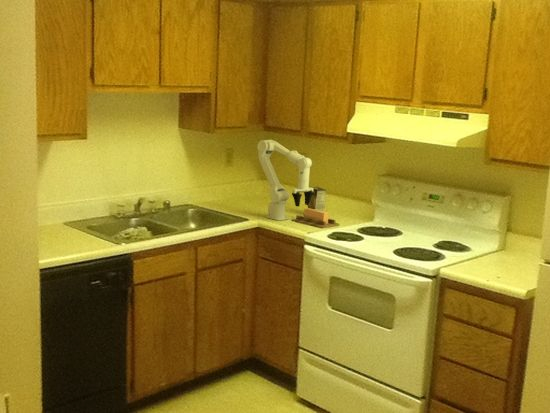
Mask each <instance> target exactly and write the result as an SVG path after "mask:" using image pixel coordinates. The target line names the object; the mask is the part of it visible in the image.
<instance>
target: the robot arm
mask: <svg viewBox="0 0 550 413" xmlns="http://www.w3.org/2000/svg"><path fill="white" fill-rule="evenodd" d="M256 149H257V156H258V160H259V163H260V166H261V168H262V171H263V173H264V175H265V177H266V180H267V182H268V184H269V187H270V190H269V194H270V200H271V202H269V204H268V205H267V206H268V207H267V216H266V218H267V219H271V220H275V221H285V220H289V218H288V217H286V208H287V201H288V200H289V197H290V194H289V192H288V191H287V190H286V188H285V186H283V185H282V184H281V183H280V180H279V179H278V178H279V177H278V175H277V174H276V171H275V169H274V166H273V164H272V161H271V159H270V157H271V155H272V154H273V152H274V151H276V152H278V153H279V154H282V155H284V156H285V157H287V161H289V162H291V163H293V164H294V165H296V166H297V168H298V180H297V187H296V188H294V189H293V188H292V190H291V196H292V198H293V200H294V204H295V207H297V208H298V207H300V205H301V198H302V196H304V205H305V206H308V205H309V202H310V200H311V197H312V196H313V194H314V192H312V191H313V188H311V187H312V186H310V171H311V169H310V168H312V165H313V160H312V159H311V158H310V157H305V155H304V154H303V155H302V154H300V153H298V151H297V150H289V149H288V148H287V147H284V146H283V145H282V144H280V143H279V142H278V141H276V140H274V139H266V140H265V139H261V140H259V141H258V143H257V146H256ZM309 187H310V188H309ZM302 193H303V194H304V195H303V194H302Z"/></svg>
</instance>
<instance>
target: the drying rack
mask: <svg viewBox="0 0 550 413" xmlns="http://www.w3.org/2000/svg"><path fill="white" fill-rule="evenodd" d="M293 221H295V223H299V224H301V225H307V226H311V227H314V228H319V229H328V228H333V227H339V226H341V225H340V223H337V222H336V219H332V218H328V223H327V224H326V222H325V221H320V220H316V219H312V218H307V217H304V215H299V214H298V215H296V216H295V218H292V219H291V222H293Z"/></svg>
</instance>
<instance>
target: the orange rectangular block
mask: <svg viewBox="0 0 550 413" xmlns="http://www.w3.org/2000/svg"><path fill="white" fill-rule="evenodd" d="M329 214H330V212H329V211H320V210H316V209H311V208H308V207H307V208H304V209H303V217H307V218H312V219H316V220H320V221H325V222H326V224H327V223H328V219H329V217H330V216H329Z"/></svg>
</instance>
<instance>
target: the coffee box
mask: <svg viewBox="0 0 550 413" xmlns="http://www.w3.org/2000/svg"><path fill="white" fill-rule="evenodd" d="M310 187H311V188H313V191H312V192H314V194H313V196H312V197H311V200H310V202H309V205H307V208H311V209H316V210H320V211H325V210H326V208H325V207H326V198H327V196H326V195H327V189H325V188H321V187H319V186H309V188H310ZM325 212H326V211H325Z"/></svg>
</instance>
